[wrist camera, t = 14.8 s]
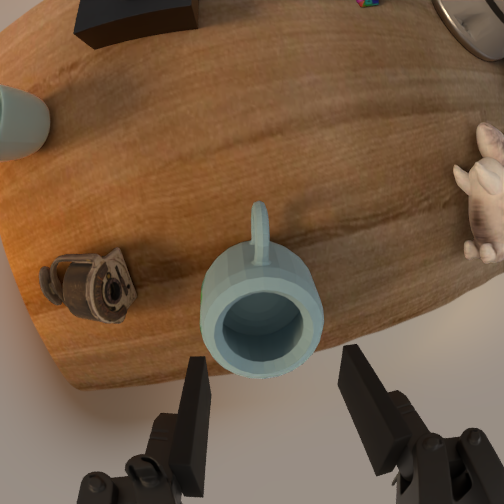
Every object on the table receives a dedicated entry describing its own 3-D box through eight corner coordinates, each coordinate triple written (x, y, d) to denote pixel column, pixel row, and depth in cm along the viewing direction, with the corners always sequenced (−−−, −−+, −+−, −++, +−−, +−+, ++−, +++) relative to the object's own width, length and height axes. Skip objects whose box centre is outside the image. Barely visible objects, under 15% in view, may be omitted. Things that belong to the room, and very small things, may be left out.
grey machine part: (124, 360, 27) (124, 285, 22) (23, 329, 24) (6, 253, 20) (137, 316, 33) (143, 244, 29) (48, 292, 30) (41, 221, 26)
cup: (62, 150, 26) (4, 149, 16) (16, 168, 26) (-40, 174, 16) (59, 88, 24) (7, 69, 14) (14, 110, 24) (-39, 102, 14)
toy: (474, 108, 20) (530, 126, 22) (434, 122, 28) (496, 133, 29) (481, 358, 24) (535, 321, 26) (445, 337, 31) (503, 309, 33)
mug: (198, 197, 28) (178, 210, 19) (309, 194, 29) (344, 206, 19) (208, 332, 32) (199, 390, 23) (305, 328, 33) (327, 383, 23)
